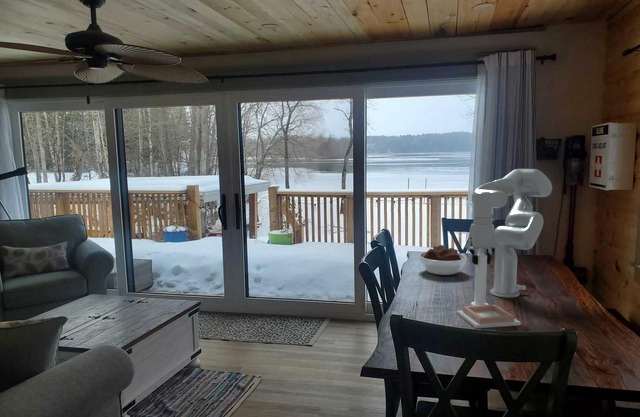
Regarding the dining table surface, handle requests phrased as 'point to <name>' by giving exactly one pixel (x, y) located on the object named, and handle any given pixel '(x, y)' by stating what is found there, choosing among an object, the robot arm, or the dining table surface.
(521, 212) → the robot arm
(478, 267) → the candle
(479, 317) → the tray
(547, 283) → the dining table surface
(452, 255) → the white bowl with food
